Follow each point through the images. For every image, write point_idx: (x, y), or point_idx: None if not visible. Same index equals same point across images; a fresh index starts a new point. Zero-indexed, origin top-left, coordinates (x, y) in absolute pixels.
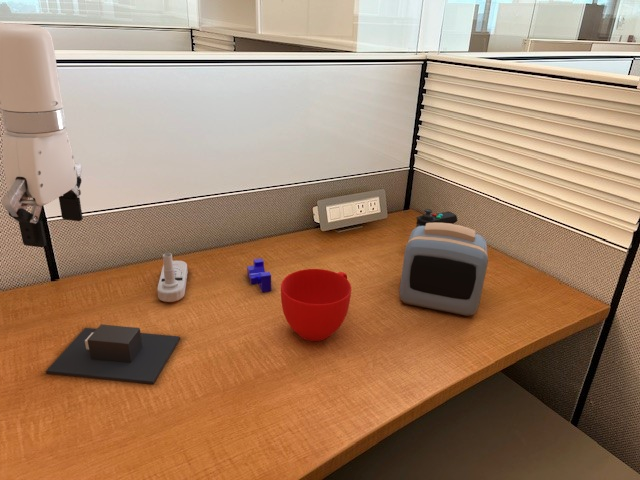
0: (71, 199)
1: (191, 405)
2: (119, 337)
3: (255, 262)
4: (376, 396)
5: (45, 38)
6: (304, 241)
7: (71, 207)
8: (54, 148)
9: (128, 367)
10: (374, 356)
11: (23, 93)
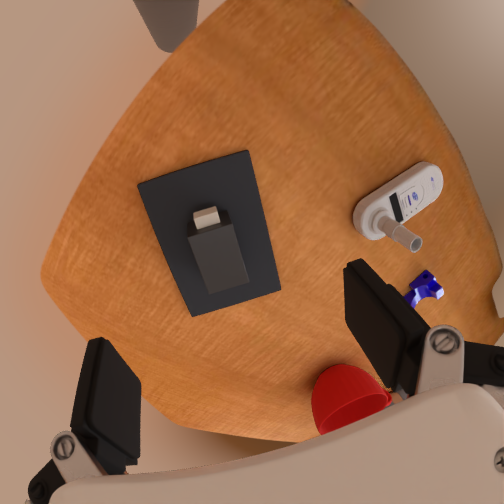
0: (390, 377)
1: (187, 357)
2: (215, 274)
3: (436, 293)
4: (264, 428)
5: None
6: (484, 278)
7: (371, 344)
8: None
9: (198, 278)
10: (308, 413)
11: None
